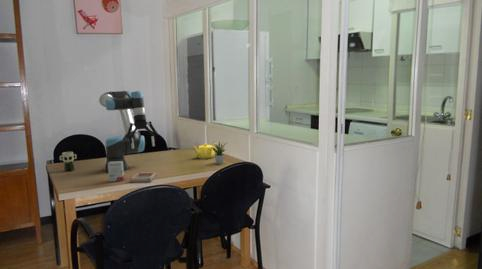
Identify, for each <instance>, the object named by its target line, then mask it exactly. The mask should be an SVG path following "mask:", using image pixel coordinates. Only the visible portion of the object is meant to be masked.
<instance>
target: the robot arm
mask: <svg viewBox="0 0 482 269" xmlns="http://www.w3.org/2000/svg"><path fill="white" fill-rule="evenodd" d="M98 101H99V104H100V105H101V106H102V107H105V109H106V111H119V113H120V117H121V121H122V125H123V128H124V133H125V134H124V136H123V135H114V136H110V137H107V138H106V140H105V153H106V162H105V166H104V171H105V172H108V163H109V162H115V161H123V168H124V171H126V170H128V167H129V166H128V164H127V161H126V159H125V155H126V154H134V153H135V154H136V153H141V152H144V151H145V146H146V142H145V141H146V140H145V136H144V135H141V132H140V131H139V130H146V131H147V132H148V133H149V134H150V135H151V137H150V139H151V146H152V147H155V146H156V144H155V141H156V136H157V135H158V131H157V130H156V128H155V127H154V126H153V123H152V121H147V118H146V116H147V115H146V110H145V109H146V108H145V101H144V93H143V92H142V91H140V90H135V91H129V90H122V91H107V92H104V93H103V94H101V95H100V97H99V99H98ZM147 125H148V126H149V127H148V126H147Z"/></svg>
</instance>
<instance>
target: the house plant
mask: <svg viewBox="0 0 482 269" xmlns="http://www.w3.org/2000/svg"><path fill="white" fill-rule="evenodd" d="M228 143H229V142H228V141H227V142H225V143H224V142H222V143H221V142H220V141H218V144H215V142H214V143H213V142H212V144H213V146H214V145H215V146H216V149H214V148H212V147H213V146H212V147H210V148H211V149H213V150H214V151H215V156H214V160H215V164H217V165H220V164H224V160H225V158H224V157H225V154H224V153H223V152H225V151H226V150H228V149H226V148H225V146H226V145H227V144H228ZM211 151H212V150H211Z"/></svg>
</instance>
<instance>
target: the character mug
mask: <svg viewBox="0 0 482 269" xmlns="http://www.w3.org/2000/svg"><path fill="white" fill-rule="evenodd" d="M76 159H78V158H77V154H76V153H75V154H74V152H73V151H64V152H62V153H61V155H60V156H59V161H63V162H64V171H65V170H69V171H70V170H71V171H73V170H75V166H74V163H73V162H74V161H75V160H76Z"/></svg>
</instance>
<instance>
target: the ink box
mask: <svg viewBox="0 0 482 269" xmlns="http://www.w3.org/2000/svg"><path fill="white" fill-rule="evenodd" d="M123 181H125V170H124V168H123V161H115V162H109V163H108V182H123Z"/></svg>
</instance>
